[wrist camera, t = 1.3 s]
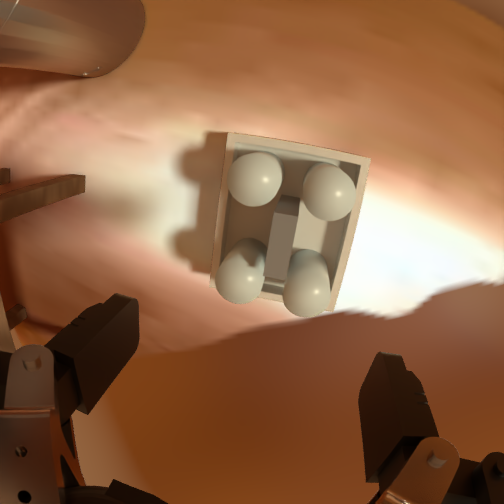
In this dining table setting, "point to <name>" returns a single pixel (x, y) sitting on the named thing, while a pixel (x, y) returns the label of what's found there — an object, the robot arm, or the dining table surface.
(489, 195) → the dining table surface
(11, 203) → the counter shelf
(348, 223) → the tray
